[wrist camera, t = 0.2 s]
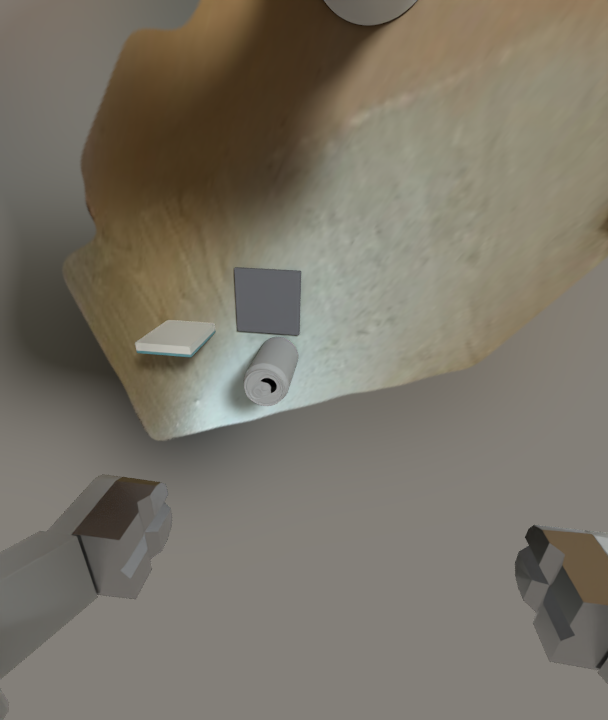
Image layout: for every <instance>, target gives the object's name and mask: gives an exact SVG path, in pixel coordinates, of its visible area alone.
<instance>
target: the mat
mask: <svg viewBox="0 0 608 720" xmlns="http://www.w3.org/2000/svg"><path fill="white" fill-rule="evenodd" d="M234 271H235V290H236V309H237V328H238V331H248V332H262V333H276V334H290V335H299V331H300V292H301V271H294V270H275V269H257V268H238V267H235V268H234Z"/></svg>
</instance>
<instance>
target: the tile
mask: <svg viewBox="0 0 608 720" xmlns="http://www.w3.org/2000/svg"><path fill="white" fill-rule="evenodd" d="M214 333H215V323H206V322H192V321H177V320H167V321H166V322H164V323H163V324H161V325H160V326H158V327H157V328H155V329H154V330H153V331H151V332H150V333H148V334H147V335H145V336H144V337H142V338H141V339H140V340H138V341H137V342H135V345H136V350H137V353H143V354H156V355H169V356H181V357H192V356H193V355H194V354H195V353H196V352H197V351H198V350H199V349H200V348H201V347H202V346H203V345H204V344H205V342H206V341H207V340H208V339H209V338H210V337H211V336H212V335H213V334H214Z"/></svg>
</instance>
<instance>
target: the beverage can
mask: <svg viewBox="0 0 608 720" xmlns="http://www.w3.org/2000/svg"><path fill="white" fill-rule="evenodd" d="M297 362H298V351H297V348H296V347H295V345H294V344H293V343H292V342H291V341H290V340H288V339H286V338H283V337H273V338H270V339H268V340H267V341H265V342H264V344H263V345H262V347H261V348H260V350H259V352H258V353H257V355H256V357H255V358H254V360H253V362H252V364H251V365H250V367H249V369H248V370H247V372H246V374H245V376H244V390H245V393H246V395H247V396H248V398H249V399H250V400H251V401H253V402H254V403H256V404H258V405H262V406H271V405H274V404H277V403H278V402H279V401H280V400H282V399H283V398H284V397H285V396H286V394H287V392H288V389H289V386H290V383H291V380H292V377H293V374H294V371H295V368H296V365H297Z"/></svg>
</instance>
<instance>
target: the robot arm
mask: <svg viewBox="0 0 608 720" xmlns="http://www.w3.org/2000/svg"><path fill="white" fill-rule="evenodd" d="M324 1H325V3H326V4H327V5H328V6H329V8H330V9H331V10H332V11H333V12H335V13H336V14H337V15H338V16H340V17H341V18H343V19H345V20H347V21H349V22H351V23H355V24H359V25H377V24H382V23H385V22H388V21H390V20H392V19H394V18H396V17H398V16H399V15H401V14H402V13H404V12H405V11H406V10H408V9H409V8H410V7H411V6H412V5H413V4H414V3H415V2H416V1H417V0H324ZM167 496H168V491H167V486H166V484H164V483H162V482H155V481H147V480H140V479H134V478H127V477H118V476H110V475H101V476H99V477H97V478H95V479H94V480H93V481H92V482H91V484H90V485H89V486H88V487H87V488H86V489H85V490H84V491H83V492H82V493H81V494H80V495H79V497H78V498H77V499H76V500H75V501H74V502H73V503H72V504H71V505H70V507H69V508H68V509H67V510H66V511H65V512H64V513H63V514H62V515H61V516H60V517H59V519H58V520H57V521H56V522H55V523H54V524H53V525H52V526H51V527H50V528H49V530H48V531H47V532H44V531H39V532H37V533H35V534H33V535H31V536H30V537H28V538H26V539H24V540H22V541H20V542H19V543H16V544H14V545H13V546H11V547H9V548H7V549H5V550H3V551H1V552H0V679H2V678H3V677H4V676H5V675H6V674H8V673H9V672H10V671H11V670H12V669H13V668H15V667H16V666H17V665H18V664H19V663H21V662H22V661H23V660H24V659H25V658H27V657H28V656H29V655H30V654H31V653H33V652H34V651H35V650H36V649H37V648H38V647H40V646H41V645H42V644H43V643H44V642H46V640H48V639H49V638H50V637H51V636H53V635H54V634H55V633H56V632H57V631H59V630H60V629H61V628H62V627H63V626H64V625H66V624H67V623H68V622H69V621H70V620H72V619H73V618H74V617H75V616H76V615H78V614H79V613H80V612H81V611H82V610H83V609H85V608H86V607H87V606H88V605H89V604H90V603H92V602H93V601H94V600H95V599H96V598H97V597H98V596H97V595H103V596H112V597H121V598H129V599H136V598H137V596H138V594H139V592H140V591H141V589H142V587H143V585H144V583H145V581H146V579H147V578H148V576H149V574H150V572H151V570H152V568H151V561H150V559H151V558H153V557H154V556H155V555H157V554H158V553H160V552H161V551H162V549H163V547H164V546H165V544H166V542H167V540H168V536H169V533H170V530H171V526H172V513H171V508H170V507H169V506H168V505H167V504H166V503H165V502H164V501H165V499H166V498H167ZM525 538H526V540H527V542H528V544H529V546H527V547H526V548H524V549H522V550H521V551H519V553H518V556H517V559H516V561H515V576H516V581H517V585H518V589H519V591H520V594H521V596H522V598H523V600H524V601H525V602H526V603H527V604H528V605H529V606H530V607H531V608H532V609H533V610H534V611H535V612H536V614H535V618H534V621H533V624H534V627H535V629H536V632H537V634H538V636H539V639H540V641H541V643H542V646H543V648H544V650H545V653H546V655H547V657H548V659H549V661H550V662H555V663H561V664H567V665H572V666H577V667H583V668H589V669H594V670H599V671H598V674H599V675H600V676H601V677H602V678H603V679H604V680H605V682H606V683H607V684H608V533H603V532H594V531H583V530H576V529H567V528H557V527H548V526H538V525H533V526H532V527H530V528H529V529H528V531H527V534H526V536H525ZM8 706H9V702H8V700H7V698H6V697H5V695H4V694H3V692H2V691H1V690H0V720H3V719H4V717H5V716H6V714H7V713H8V710H9V707H8Z"/></svg>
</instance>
